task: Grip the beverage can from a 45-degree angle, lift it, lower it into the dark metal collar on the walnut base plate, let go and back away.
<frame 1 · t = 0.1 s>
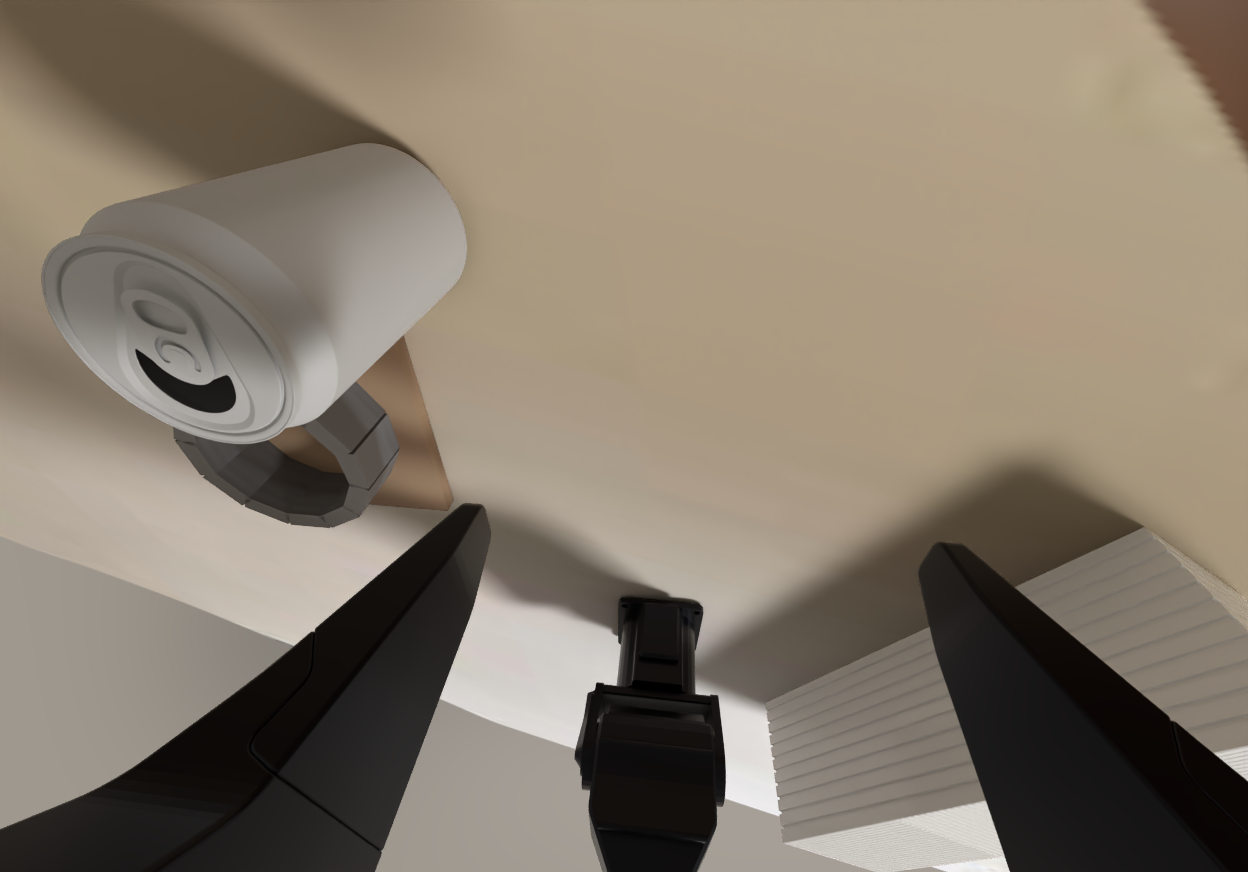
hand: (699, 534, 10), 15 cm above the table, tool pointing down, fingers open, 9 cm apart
can holder: (324, 414, 28), on the table
white foam block: (952, 654, 38), on the table
beverage can: (403, 223, 21), on the table
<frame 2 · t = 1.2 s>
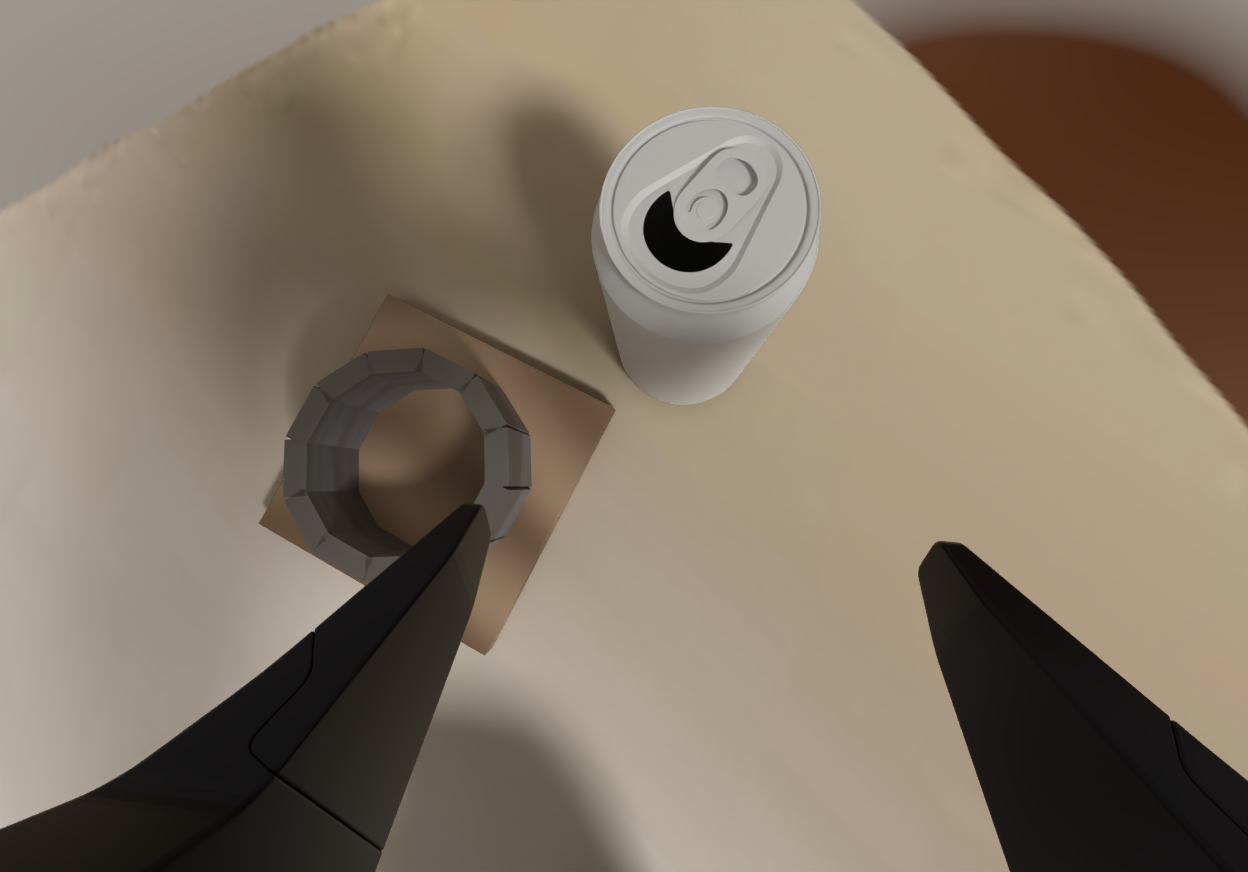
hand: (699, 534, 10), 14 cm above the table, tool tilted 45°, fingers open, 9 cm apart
can holder: (443, 466, 24), on the table
beverage can: (682, 346, 24), on the table
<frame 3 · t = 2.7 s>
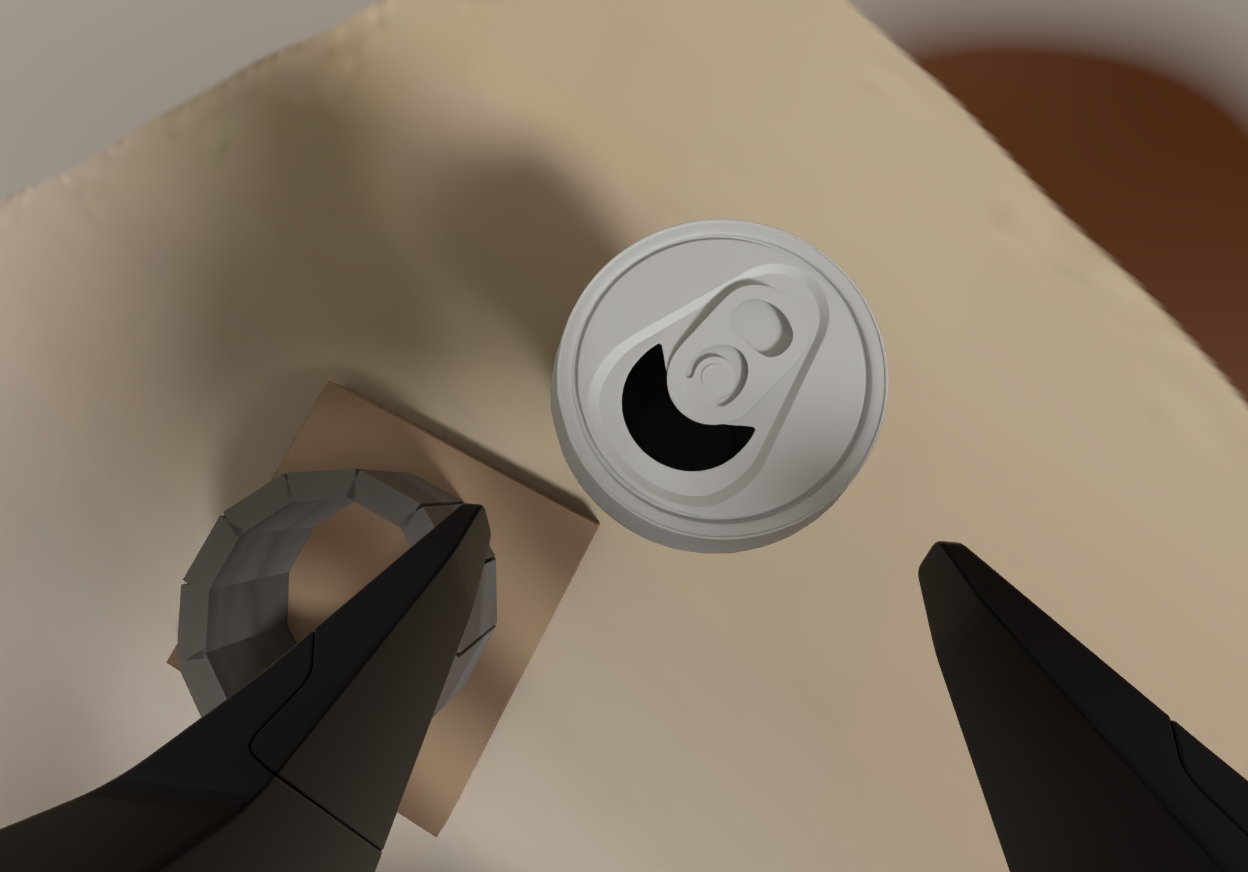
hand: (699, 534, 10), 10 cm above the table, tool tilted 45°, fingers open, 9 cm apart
can holder: (392, 589, 20), on the table
beverage can: (681, 444, 20), on the table
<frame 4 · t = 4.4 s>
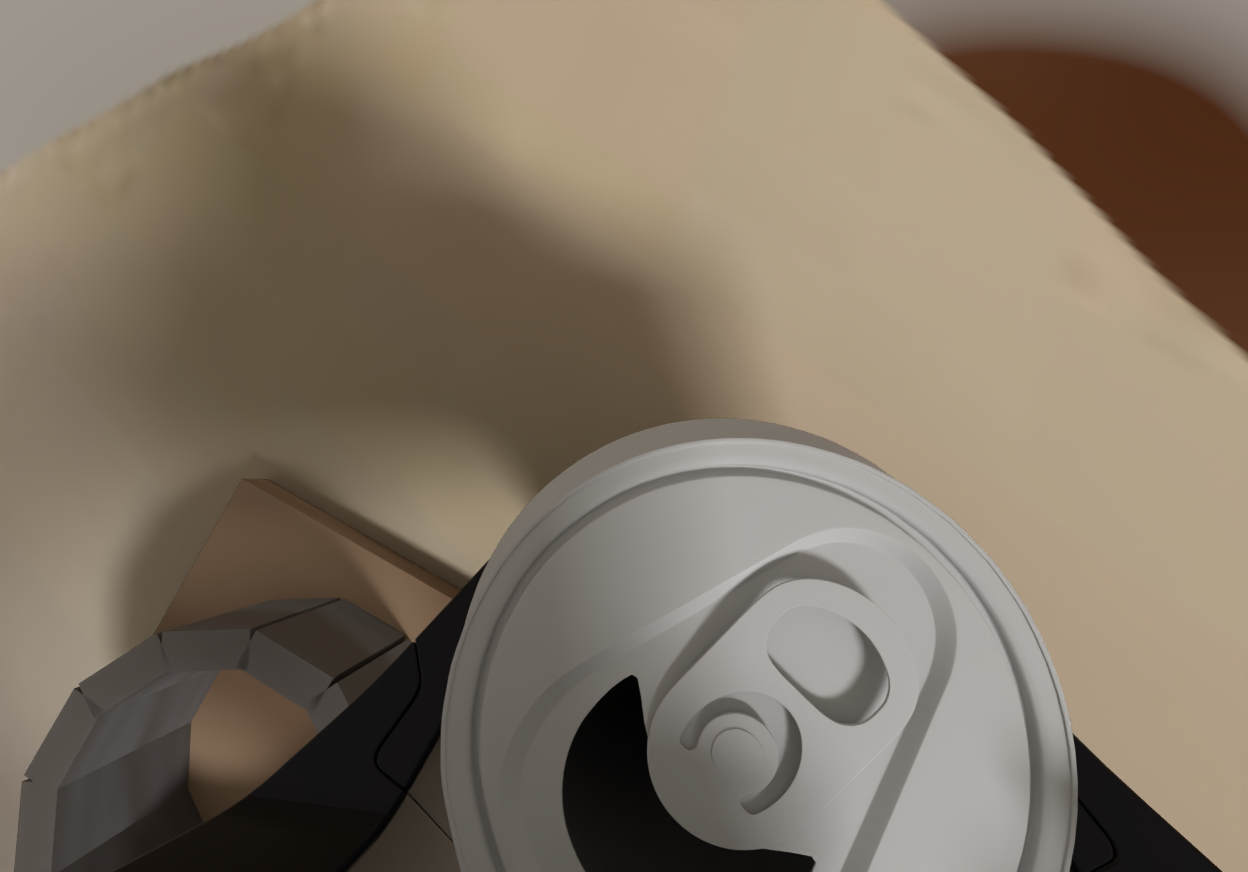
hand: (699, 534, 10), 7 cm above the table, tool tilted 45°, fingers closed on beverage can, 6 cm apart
can holder: (323, 737, 16), on the table
beverage can: (679, 556, 16), on the table, touching gripper
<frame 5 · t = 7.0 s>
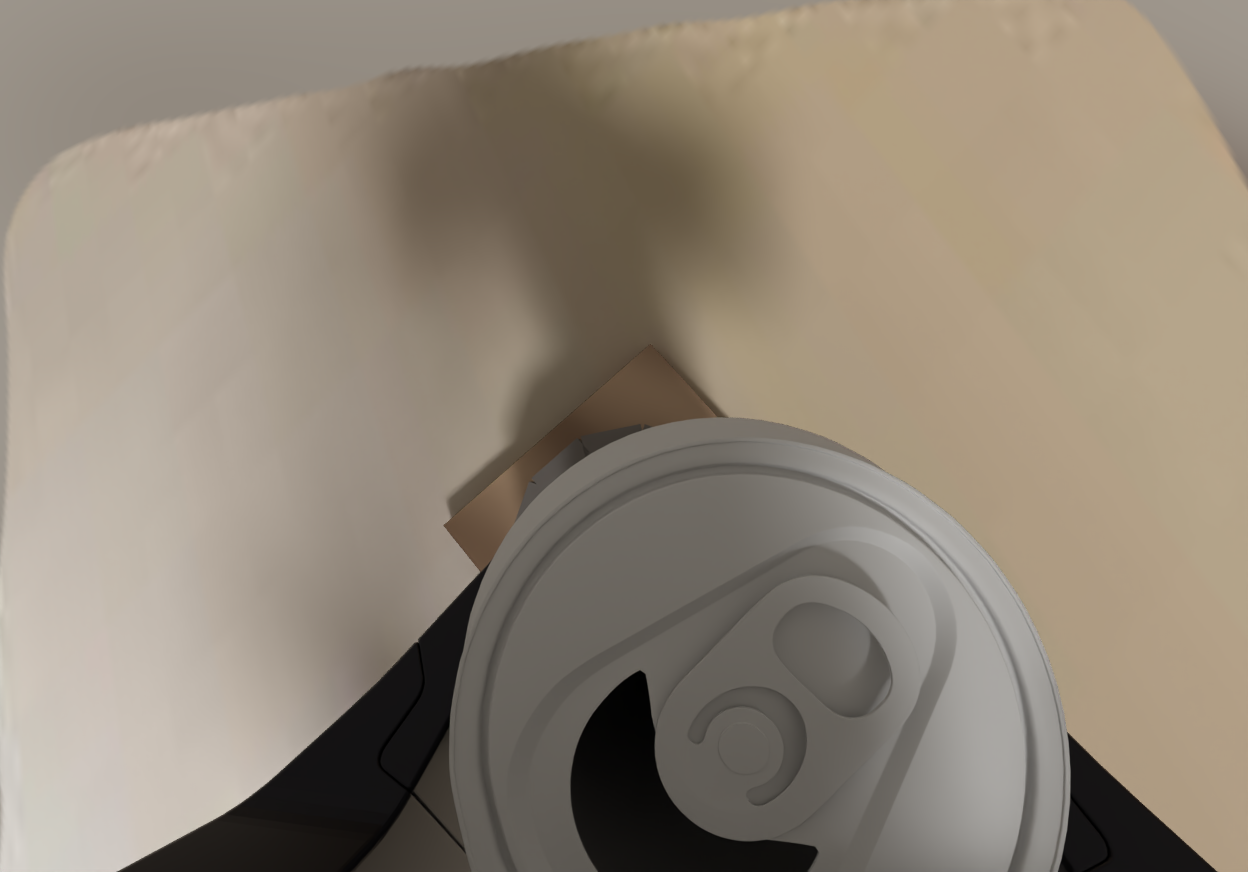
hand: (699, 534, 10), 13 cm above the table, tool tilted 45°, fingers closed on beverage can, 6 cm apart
can holder: (638, 537, 23), on the table
beverage can: (672, 553, 16), point 6 cm above the table, touching gripper
when the fingers open (9 cm above the table, at t = 9.4 s): beverage can drops 1 cm, resting on can holder.
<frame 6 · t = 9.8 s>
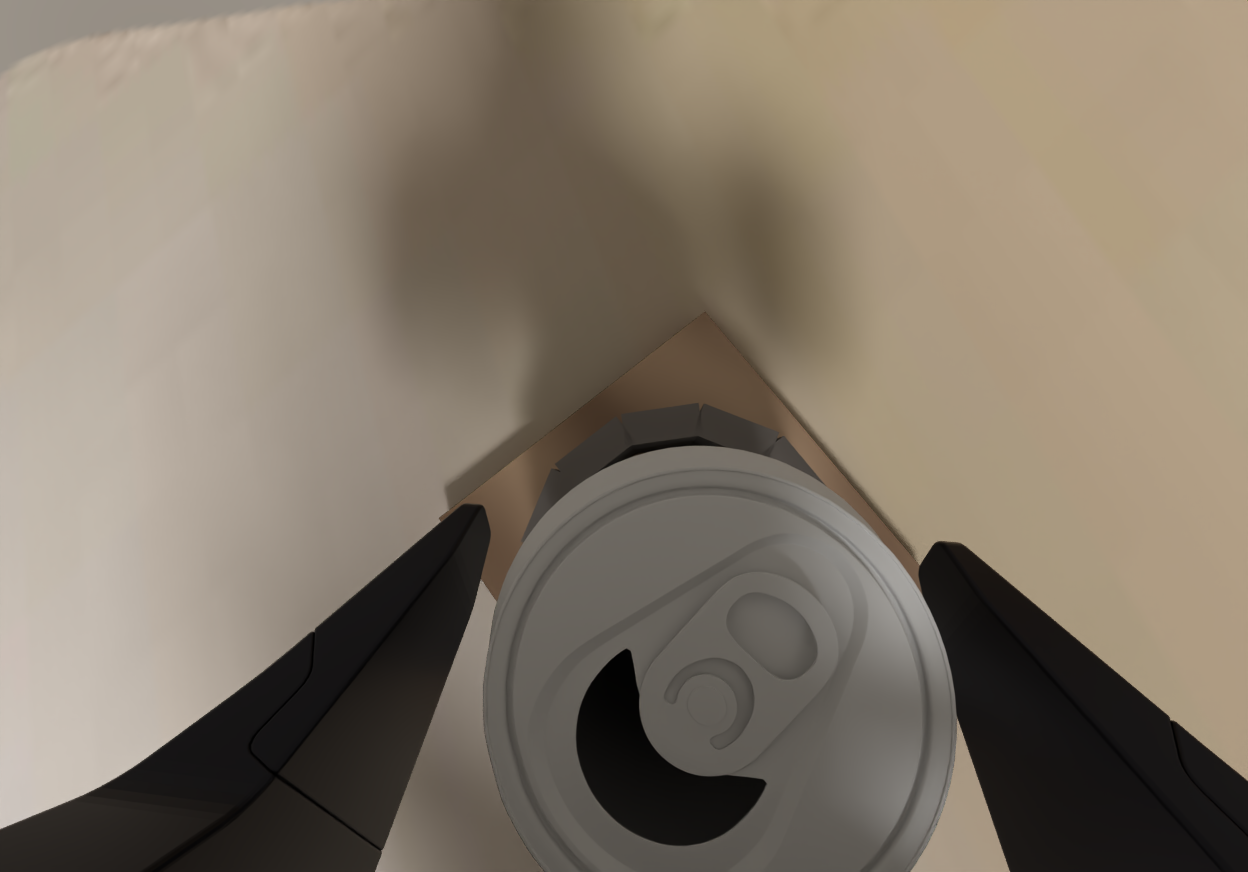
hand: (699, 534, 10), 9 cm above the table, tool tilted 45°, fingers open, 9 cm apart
can holder: (676, 547, 18), on the table
beverage can: (673, 556, 18), point 1 cm above the table, touching can holder
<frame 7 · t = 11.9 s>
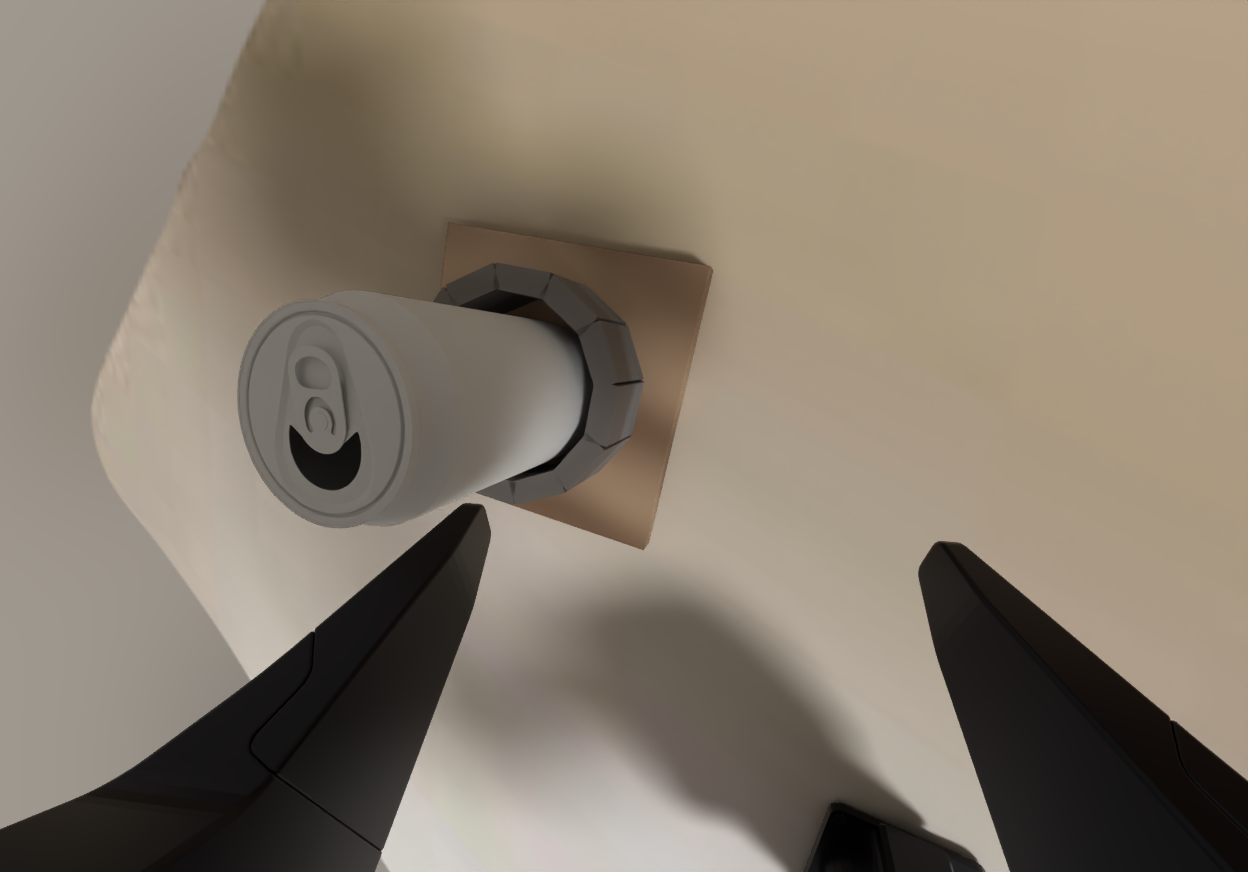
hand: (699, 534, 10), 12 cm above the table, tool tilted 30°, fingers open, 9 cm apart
can holder: (553, 383, 24), on the table
beverage can: (547, 389, 23), point 1 cm above the table, touching can holder
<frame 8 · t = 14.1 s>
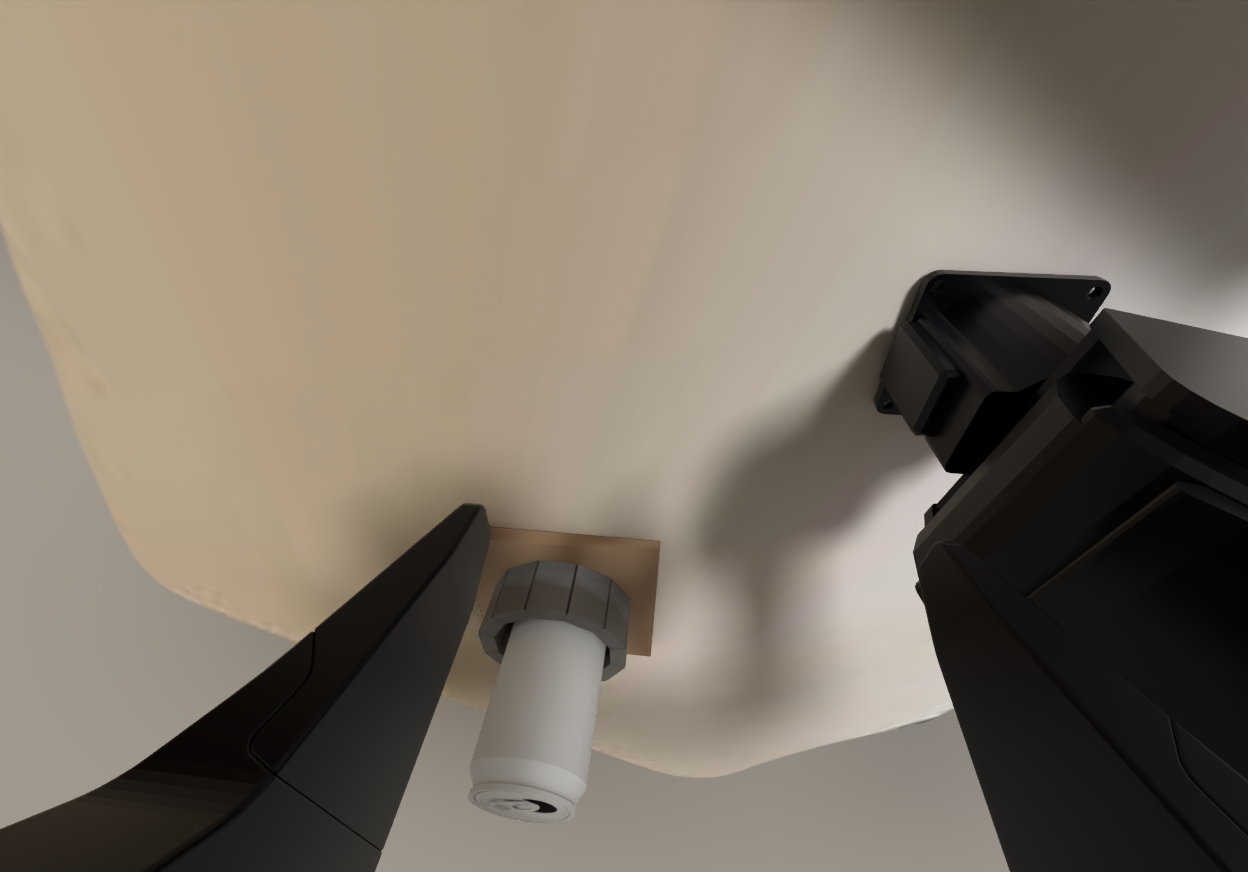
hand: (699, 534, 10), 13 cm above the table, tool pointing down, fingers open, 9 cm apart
can holder: (566, 590, 35), on the table
beverage can: (567, 600, 34), point 1 cm above the table, touching can holder
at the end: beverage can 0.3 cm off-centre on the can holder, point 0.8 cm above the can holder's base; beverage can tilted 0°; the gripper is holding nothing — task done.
